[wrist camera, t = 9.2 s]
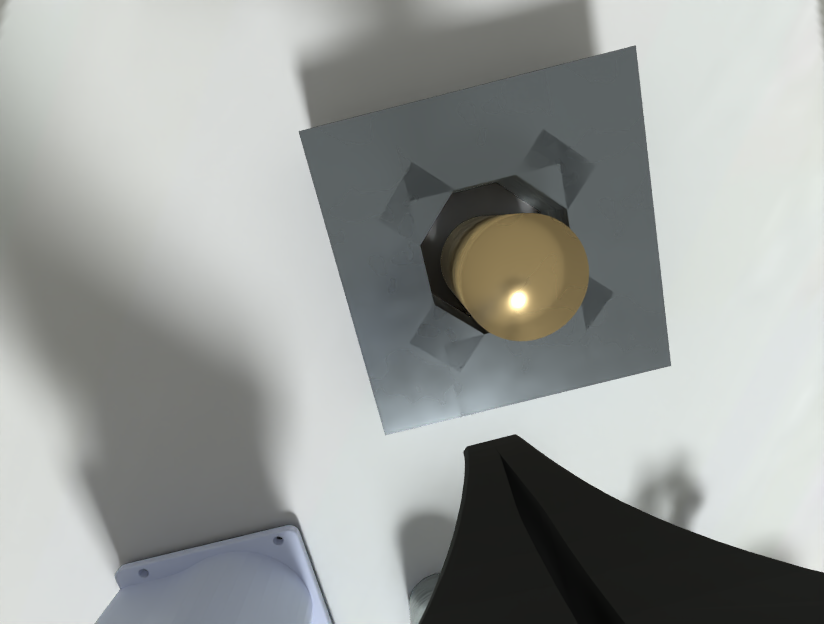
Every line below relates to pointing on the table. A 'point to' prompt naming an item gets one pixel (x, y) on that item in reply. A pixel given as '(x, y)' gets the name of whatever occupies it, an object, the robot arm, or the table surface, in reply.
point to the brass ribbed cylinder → (516, 273)
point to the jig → (529, 180)
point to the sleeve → (421, 597)
